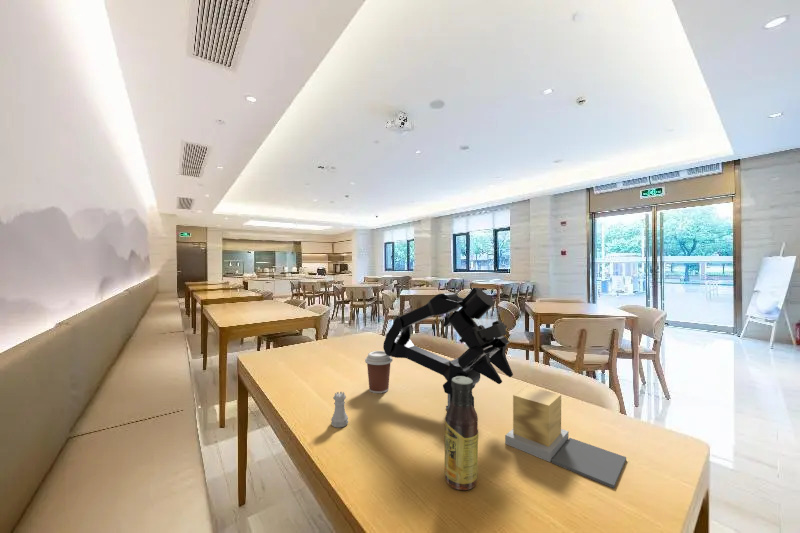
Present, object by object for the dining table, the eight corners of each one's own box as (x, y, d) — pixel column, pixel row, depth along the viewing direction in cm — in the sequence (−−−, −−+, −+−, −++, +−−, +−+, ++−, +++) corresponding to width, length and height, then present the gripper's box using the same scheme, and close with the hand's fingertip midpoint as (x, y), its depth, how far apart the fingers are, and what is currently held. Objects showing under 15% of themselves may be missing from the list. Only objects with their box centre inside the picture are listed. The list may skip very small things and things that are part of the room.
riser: (505, 443, 74) (505, 435, 74) (526, 425, 83) (526, 417, 83) (550, 462, 67) (550, 452, 67) (568, 439, 76) (568, 431, 76)
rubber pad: (551, 462, 67) (551, 460, 67) (569, 440, 76) (569, 437, 76) (613, 488, 59) (613, 485, 59) (626, 459, 68) (626, 457, 68)
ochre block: (513, 433, 75) (513, 395, 75) (527, 421, 81) (527, 385, 81) (548, 447, 69) (548, 405, 69) (561, 432, 75) (561, 394, 75)
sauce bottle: (441, 471, 64) (441, 373, 64) (471, 470, 65) (471, 372, 65) (449, 495, 58) (448, 385, 58) (482, 493, 58) (482, 384, 58)
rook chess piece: (351, 421, 85) (351, 391, 85) (343, 429, 81) (342, 398, 81) (336, 418, 86) (336, 389, 86) (327, 426, 82) (327, 395, 82)
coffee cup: (360, 392, 104) (359, 355, 104) (372, 382, 112) (372, 348, 112) (385, 396, 101) (385, 358, 101) (396, 386, 109) (396, 351, 109)
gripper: (469, 315, 77) (513, 371, 70) (502, 307, 91) (542, 353, 84) (441, 342, 83) (480, 397, 75) (477, 331, 96) (513, 376, 89)
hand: (506, 379), depth 81 cm, fingers open, 6 cm apart
